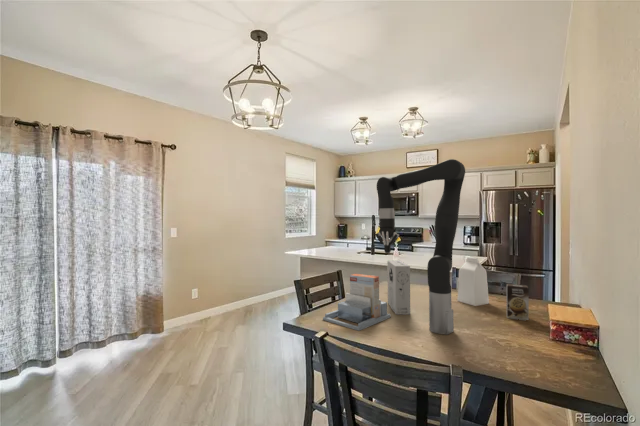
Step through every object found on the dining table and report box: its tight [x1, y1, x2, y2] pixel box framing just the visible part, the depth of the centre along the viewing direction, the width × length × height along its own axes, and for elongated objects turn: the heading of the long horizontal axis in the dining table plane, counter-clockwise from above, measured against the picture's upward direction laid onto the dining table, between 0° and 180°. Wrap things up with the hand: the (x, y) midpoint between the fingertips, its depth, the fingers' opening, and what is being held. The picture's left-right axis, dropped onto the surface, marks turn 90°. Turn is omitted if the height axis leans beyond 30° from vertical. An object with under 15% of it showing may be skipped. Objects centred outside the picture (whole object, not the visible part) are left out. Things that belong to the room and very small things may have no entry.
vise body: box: [322, 298, 392, 332], centre depth 157 cm, size 22×26×9 cm
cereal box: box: [386, 259, 411, 315], centre depth 174 cm, size 22×8×25 cm, turn 179°
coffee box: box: [506, 283, 530, 321], centre depth 157 cm, size 9×6×16 cm
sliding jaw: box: [337, 292, 371, 324], centre depth 156 cm, size 19×7×11 cm, turn 46°
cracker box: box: [349, 273, 380, 318], centre depth 160 cm, size 14×6×21 cm, turn 51°
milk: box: [456, 256, 490, 307], centre depth 186 cm, size 12×12×26 cm
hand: (387, 252), depth 156 cm, fingers closed
